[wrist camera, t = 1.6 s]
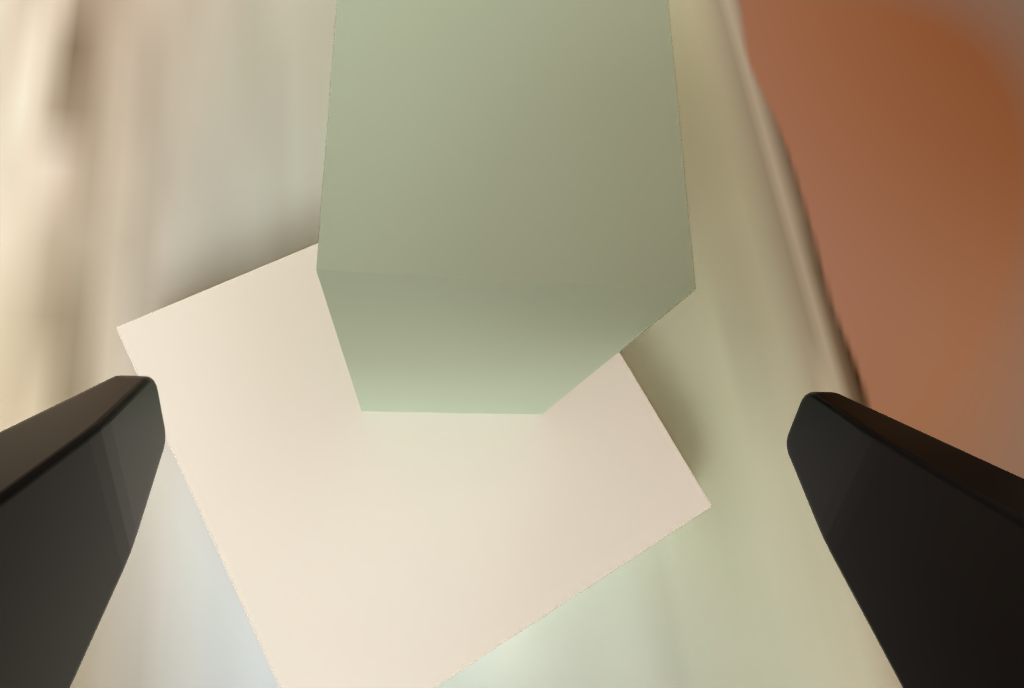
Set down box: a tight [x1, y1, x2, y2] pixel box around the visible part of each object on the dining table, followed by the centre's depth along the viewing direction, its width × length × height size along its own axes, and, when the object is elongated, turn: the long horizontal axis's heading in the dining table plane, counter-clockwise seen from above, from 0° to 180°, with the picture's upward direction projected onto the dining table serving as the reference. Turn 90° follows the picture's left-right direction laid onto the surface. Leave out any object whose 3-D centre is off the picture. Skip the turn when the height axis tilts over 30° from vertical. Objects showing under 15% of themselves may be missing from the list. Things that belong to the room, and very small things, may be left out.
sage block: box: [316, 0, 696, 414], centre depth 14 cm, size 5×5×10 cm
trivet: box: [116, 243, 712, 688], centre depth 19 cm, size 12×12×2 cm
